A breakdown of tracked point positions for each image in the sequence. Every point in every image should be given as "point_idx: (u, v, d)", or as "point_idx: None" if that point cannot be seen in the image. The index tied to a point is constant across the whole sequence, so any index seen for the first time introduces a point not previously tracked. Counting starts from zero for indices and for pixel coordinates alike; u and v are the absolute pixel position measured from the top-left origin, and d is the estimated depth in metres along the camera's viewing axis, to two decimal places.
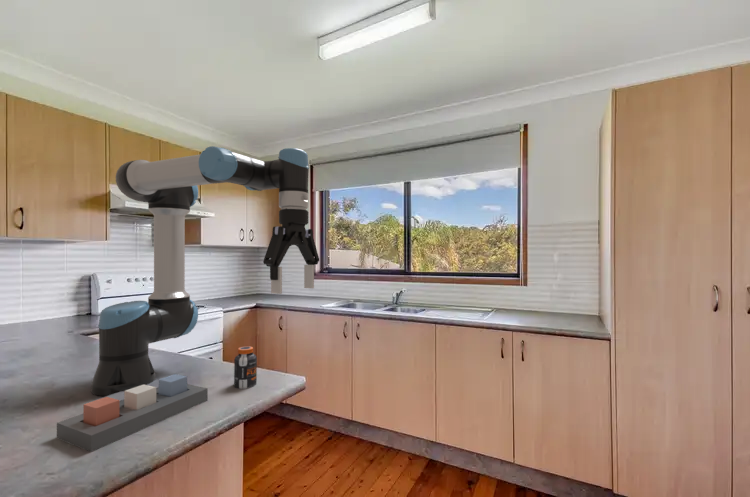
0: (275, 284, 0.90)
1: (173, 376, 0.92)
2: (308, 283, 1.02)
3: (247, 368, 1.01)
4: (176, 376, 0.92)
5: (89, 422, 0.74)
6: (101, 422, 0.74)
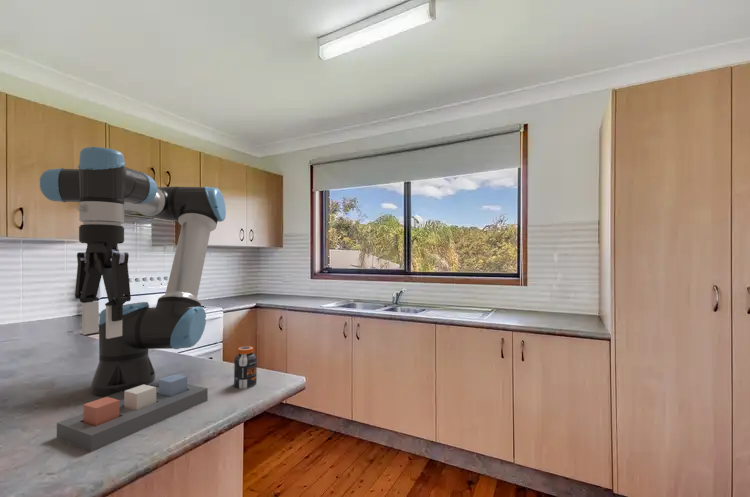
0: None
1: (173, 376, 0.92)
2: None
3: (247, 368, 1.01)
4: (176, 376, 0.92)
5: (89, 422, 0.74)
6: (101, 422, 0.74)
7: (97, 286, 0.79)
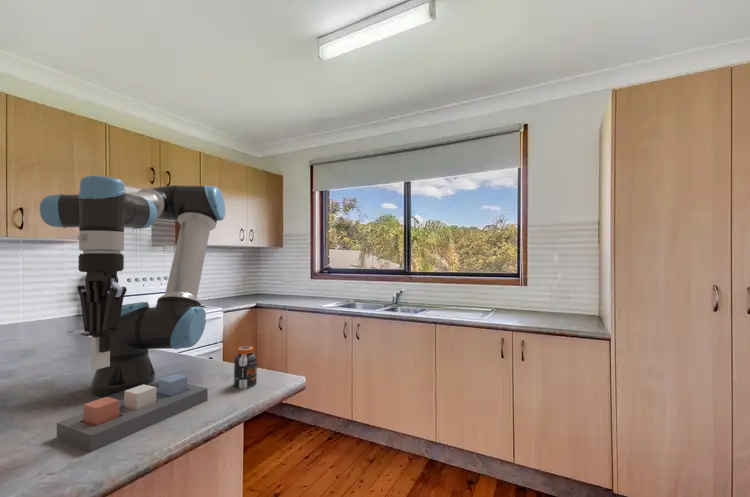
0: None
1: (173, 376, 0.92)
2: None
3: (247, 368, 1.01)
4: (176, 376, 0.92)
5: (89, 422, 0.74)
6: (101, 422, 0.74)
7: None
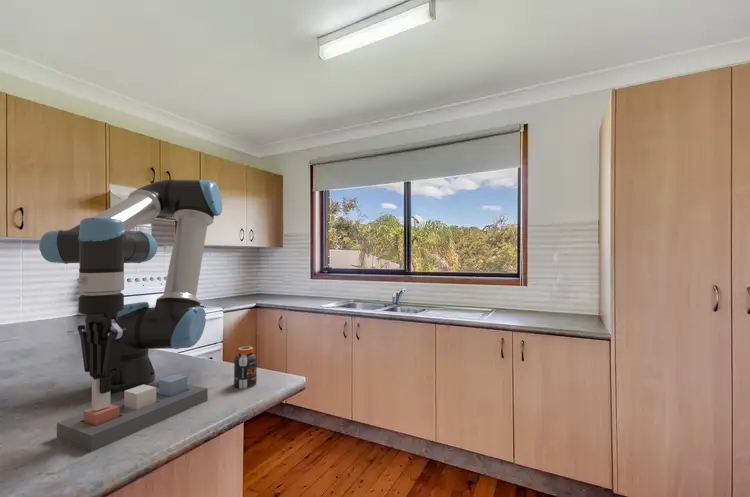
0: None
1: (173, 376, 0.92)
2: None
3: (247, 368, 1.01)
4: (176, 376, 0.92)
5: None
6: None
7: None
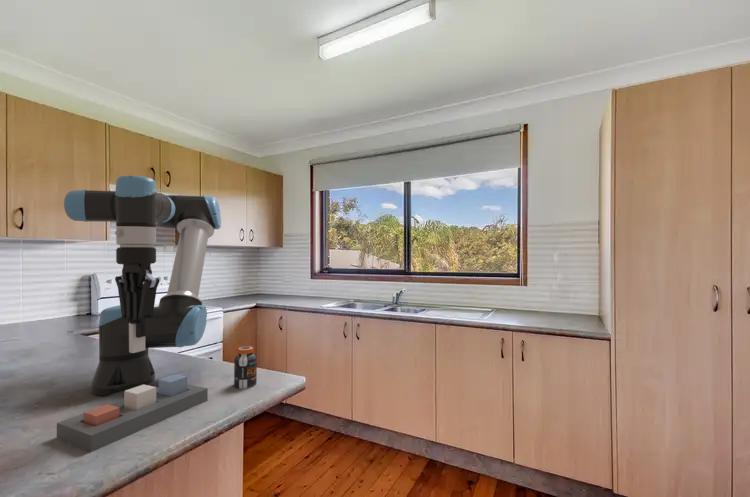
0: None
1: (173, 376, 0.92)
2: None
3: (247, 368, 1.01)
4: (176, 376, 0.92)
5: None
6: None
7: None
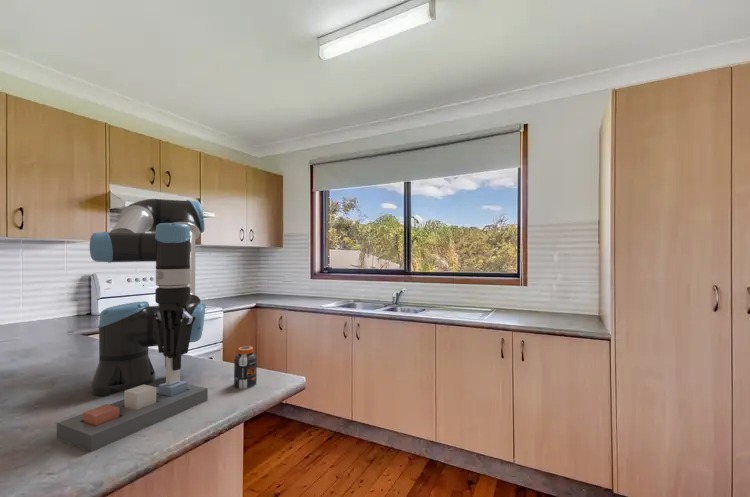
0: None
1: None
2: None
3: (247, 368, 1.01)
4: None
5: None
6: None
7: None
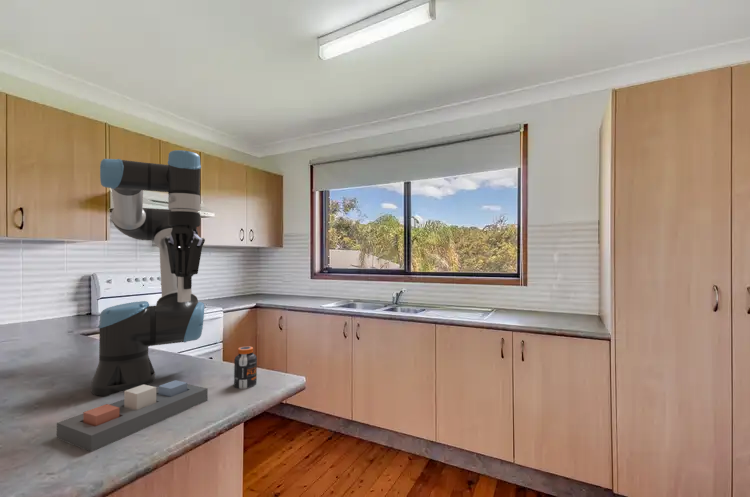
0: None
1: (173, 382, 0.92)
2: None
3: (247, 368, 1.01)
4: (176, 382, 0.92)
5: None
6: None
7: None
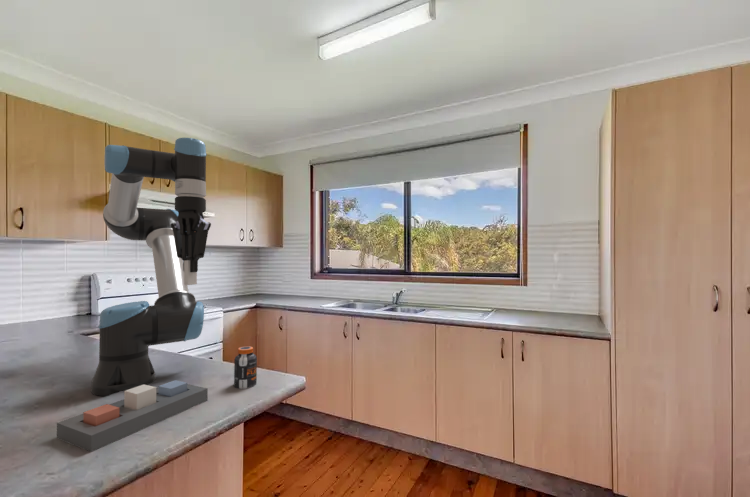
0: None
1: (173, 382, 0.92)
2: None
3: (247, 368, 1.01)
4: (176, 382, 0.92)
5: None
6: None
7: None
